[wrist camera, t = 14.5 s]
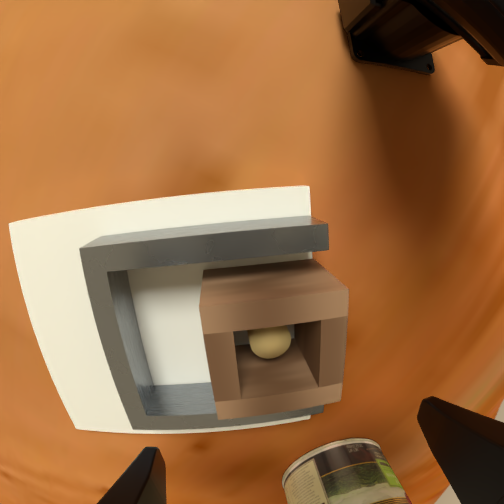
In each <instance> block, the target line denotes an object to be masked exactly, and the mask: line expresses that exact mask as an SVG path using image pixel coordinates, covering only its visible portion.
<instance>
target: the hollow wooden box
mask: <svg viewBox="0 0 504 504" xmlns="http://www.w3.org/2000/svg"><path fill="white" fill-rule="evenodd" d="M348 301H349V289H348V288H347V287H346V286H345V285H344V284H342V283H341V282H340V281H339V280H338V279H337V278H335V277H334V276H333V275H332V274H331V273H330V272H328V271H327V270H326V269H325V268H324V267H323V266H321V265H320V264H319V263H318V262H317V261H316V260H314V259H305V260H295V261H285V262H276V263H266V264H256V265H246V266H236V267H226V268H216V269H205V270H203V277H202V285H201V293H200V301H199V312H200V318H201V325H202V331H203V338H204V344H205V350H206V356H207V362H208V368H209V373H210V379H211V385H212V390H213V395H214V401H215V406H216V411H217V416H218V420H222V419H233V418H243V417H251V416H259V415H267V414H274V413H280V412H287V411H293V410H298V409H304V408H309V407H314V406H319V405H324V404H329V403H333V402H338V401H341V394H342V385H343V375H344V364H345V352H346V338H347V322H348ZM291 324H294V338H291V343H290V346H289V348H288V349H287V350H286V352H284V353H283V354H282V355H280V356H278V357H276V358H270V359H266V358H262V357H259V356H257V355H256V354H255V353H254V352H253V351H252V349H251V346H250V344H244V345H235V344H234V335H233V331H242V330H251V329H260V328H268V327H276V326H284V325H291Z"/></svg>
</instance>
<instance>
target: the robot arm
mask: <svg viewBox="0 0 504 504" xmlns="http://www.w3.org/2000/svg"><path fill="white" fill-rule="evenodd" d="M338 3H339V8H340V12H341V17H342V22H343V27H344V30H345V31H346V32H347V35H348V41H349V46H350V52H351V56H352V58H353V59H354V60H355V61H356V62H360V63H367V64H374V65H380V66H386V67H392V68H398V69H403V70H408V71H412V72H417V73H422V74H426V75H430V74H433V73H434V71H435V68H434V63H433V59H432V54H431V53H432V52H434V51H436V50H439V49H441V48H443V47H445V46H447V45H450V44H452V43H454V42H456V41H459V40H461V39H464V40H465V41H466V42H467V43H468V44H469V45H470V46H471V47H472V48H473V49H474V50H475V51H476V52H477V53H478V54H479V55H480V57H481V59H482V60H483V61H484V62H485V63H486V64H487V65H497V66H504V0H338ZM357 52H359V53H360V54H361V56H362V57H360V56H358V54H357ZM427 67H428V68H429V70H428V69H427ZM417 420H418V423H419V425H420V427H421V429H422V431H423V434H424V436H425V438H426V440H427V443H428V445H429V447H430V449H431V451H432V453H433V455H434V457H435V459H436V460H437V462H438V464H439V465H440V467H441V469H442V470H443V472H444V474H445V476H446V477H447V479H448V481H449V483H450V484H451V486H452V488H453V490H454V492H455V493H456V495H457V497H458V499H459V500H460V502H461V504H504V423H503V422H500V421H497V420H495V419H492V418H489V417H486V416H483V415H481V414H478V413H475V412H473V411H470V410H467V409H465V408H462V407H459V406H457V405H454V404H452V403H449V402H446V401H444V400H441V399H439V398H436V397H434V396H431V397H428V398H425V399H423V400H422V402H421V405H420V408H419V411H418V415H417ZM97 504H166V467H165V462H164V459H163V457H162V455H161V453H160V450H159V448H157V447H145V448H144V449H143V450H142V451H141V453H140V454H139V455H138V456H137V457H136V459H135V460H134V461H133V462H132V463H131V465H130V466H129V467H128V468H127V469H126V470H125V472H124V473H123V474H122V475H121V476H120V478H119V479H118V480H117V481H116V482H115V483H114V485H113V486H112V487H111V488H110V489H109V490H108V492H107V493H106V494H105V495H104V496H103V497H102V498H101V500H100V501H99V502H98V503H97Z"/></svg>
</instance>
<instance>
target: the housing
mask: <svg viewBox="0 0 504 504" xmlns="http://www.w3.org/2000/svg"><path fill="white" fill-rule="evenodd" d="M325 250H329V237H328V223H326V222H323V221H321V220H318V219H316V218H314V217H311V216H295V217H283V218H270V219H258V220H247V221H236V222H225V223H215V224H204V225H194V226H185V227H175V228H166V229H157V230H148V231H139V232H131V233H122V234H114V235H106V236H100V237H99V238H97V239H95V240H93V241H91V242H89V243H88V244H86V245H84V246H82V247H80V248H79V251H80V257H81V262H82V267H83V272H84V277H85V282H86V286H87V291H88V295H89V299H90V303H91V307H92V311H93V315H94V319H95V323H96V326H97V330H98V333H99V337H100V340H101V344H102V347H103V350H104V353H105V356H106V360H107V363H108V366H109V369H110V372H111V375H112V377H113V380H114V383H115V386H116V389H117V391H118V394H119V397H120V399H121V402H122V404H123V407H124V409H125V412H126V414H127V417H128V419H129V422H130V424H131V426H132V429H133V430H186V429H206V428H220V427H231V426H241V425H250V424H258V423H266V422H273V421H279V420H285V419H291V418H297V417H303V416H308V415H313V414H318V413H323V409H324V405H319V406H314V407H309V408H304V409H298V410H293V411H287V412H280V413H274V414H267V415H259V416H251V417H243V418H233V419H222V420H218V416H217V411H216V406H215V401H214V395H213V390H212V385H211V382H207V383H193V384H175V385H154V383H153V380H152V377H151V373H150V370H149V366H148V362H147V359H146V355H145V351H144V347H143V343H142V339H141V335H140V331H139V327H138V322H137V318H136V313H135V309H134V304H133V299H132V294H131V289H130V284H129V279H128V273H127V270H131V269H142V268H152V267H163V266H173V265H184V264H194V263H205V262H215V261H225V260H235V259H245V258H255V257H265V256H275V255H285V254H295V253H305V252H315V251H325Z"/></svg>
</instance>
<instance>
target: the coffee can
mask: <svg viewBox="0 0 504 504" xmlns="http://www.w3.org/2000/svg"><path fill="white" fill-rule="evenodd" d="M282 486H283V488H284V491H285V494H286V499H287V503H288V504H412V503H411V501H410V499H409V498H408V496H407V495H406V493H405V491H404V489H403V488H402V486H401V484H400V482H399V481H398V479H397V477H396V476H395V474H394V472H393V470H392V469H391V467H390V465H389V463H388V462H387V460H386V458H385V456H384V455H383V453H382V451H381V448H380V446H379V445H378V444H377V443H376V442H375V441H373V440H370V439H366V438H350V439H344V440H339V441H335V442H331V443H328V444H326V445H323V446H320V447H318V448H316V449H314V450H312V451H310V452H308V453H306V454H305V455H303V456H302V457H300V458H299V459H297V460H296V461H295V462H293V464H291V465H290V466H289V468H288V469H287V470H286V471H285V473H284V475H283V478H282Z"/></svg>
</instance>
